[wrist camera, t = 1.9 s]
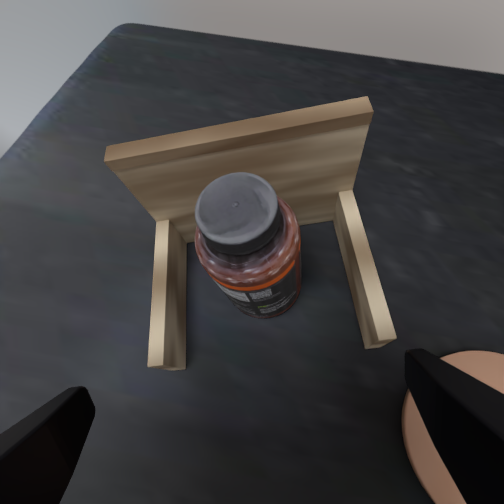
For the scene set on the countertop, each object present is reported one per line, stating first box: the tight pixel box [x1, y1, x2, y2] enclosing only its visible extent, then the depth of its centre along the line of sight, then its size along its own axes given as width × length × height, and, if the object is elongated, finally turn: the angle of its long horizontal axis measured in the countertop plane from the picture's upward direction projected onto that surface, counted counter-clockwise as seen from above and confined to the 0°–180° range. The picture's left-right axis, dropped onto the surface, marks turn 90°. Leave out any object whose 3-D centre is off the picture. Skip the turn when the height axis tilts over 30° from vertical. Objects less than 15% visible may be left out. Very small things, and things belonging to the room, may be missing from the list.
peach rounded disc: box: [401, 351, 504, 504], centre depth 17 cm, size 10×10×1 cm
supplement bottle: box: [195, 172, 302, 318], centre depth 18 cm, size 6×6×11 cm
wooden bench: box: [104, 96, 397, 371], centre depth 19 cm, size 12×15×11 cm
